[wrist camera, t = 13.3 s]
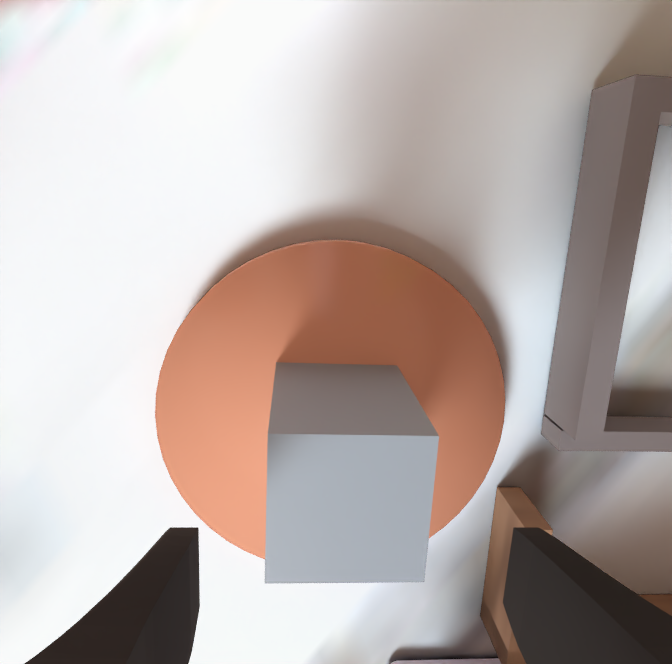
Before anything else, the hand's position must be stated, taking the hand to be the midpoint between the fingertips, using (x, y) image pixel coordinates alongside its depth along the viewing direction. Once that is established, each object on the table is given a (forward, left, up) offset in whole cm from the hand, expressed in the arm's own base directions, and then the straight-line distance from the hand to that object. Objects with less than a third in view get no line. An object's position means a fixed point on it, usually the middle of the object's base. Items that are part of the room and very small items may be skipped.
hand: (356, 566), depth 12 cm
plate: (0, 0, -9) cm, 9 cm away
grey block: (0, 0, -8) cm, 8 cm away
